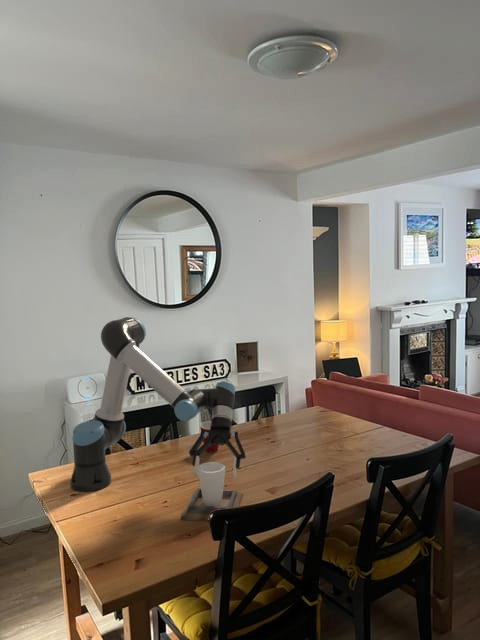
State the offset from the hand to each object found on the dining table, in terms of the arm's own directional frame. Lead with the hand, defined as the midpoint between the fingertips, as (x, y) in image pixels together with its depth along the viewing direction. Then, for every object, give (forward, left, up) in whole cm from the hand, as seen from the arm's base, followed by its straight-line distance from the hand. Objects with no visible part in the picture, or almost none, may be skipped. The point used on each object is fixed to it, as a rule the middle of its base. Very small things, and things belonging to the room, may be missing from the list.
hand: (214, 476), depth 182 cm
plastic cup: (-12, +54, -11) cm, 56 cm away
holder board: (-1, -1, -11) cm, 11 cm away
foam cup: (-1, -1, -10) cm, 10 cm away
